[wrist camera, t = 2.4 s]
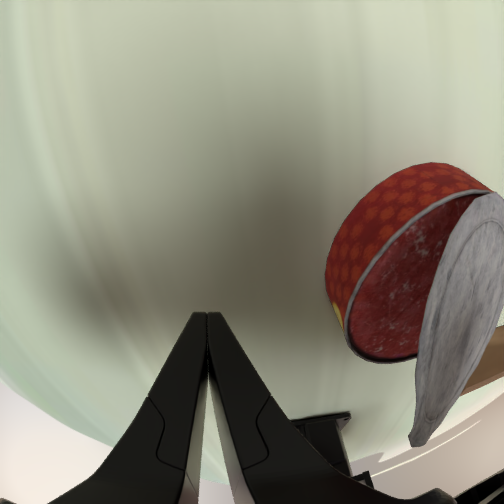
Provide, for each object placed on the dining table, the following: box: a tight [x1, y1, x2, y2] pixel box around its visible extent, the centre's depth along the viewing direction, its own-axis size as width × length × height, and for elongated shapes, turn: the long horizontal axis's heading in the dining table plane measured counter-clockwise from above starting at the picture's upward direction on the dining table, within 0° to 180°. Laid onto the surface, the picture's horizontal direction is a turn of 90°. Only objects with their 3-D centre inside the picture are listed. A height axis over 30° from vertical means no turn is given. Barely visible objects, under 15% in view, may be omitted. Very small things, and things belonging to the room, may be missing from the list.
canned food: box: [325, 162, 504, 447], centre depth 11 cm, size 11×10×10 cm
